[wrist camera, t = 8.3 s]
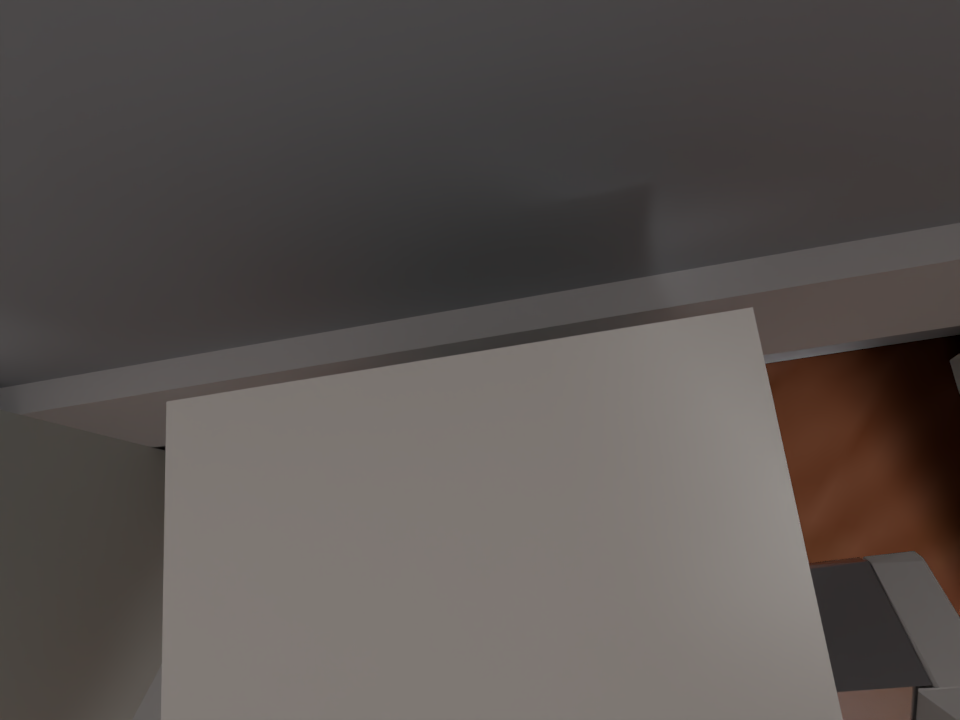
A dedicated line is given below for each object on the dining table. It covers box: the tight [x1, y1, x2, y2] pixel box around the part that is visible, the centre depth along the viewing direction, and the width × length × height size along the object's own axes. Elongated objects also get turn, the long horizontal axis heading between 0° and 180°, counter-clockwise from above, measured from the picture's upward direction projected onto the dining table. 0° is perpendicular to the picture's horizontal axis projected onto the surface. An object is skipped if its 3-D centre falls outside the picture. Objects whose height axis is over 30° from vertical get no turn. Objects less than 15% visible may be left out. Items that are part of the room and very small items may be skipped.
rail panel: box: [0, 0, 960, 451], centre depth 10 cm, size 26×2×14 cm, turn 96°
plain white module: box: [161, 307, 843, 720], centre depth 10 cm, size 5×6×10 cm
